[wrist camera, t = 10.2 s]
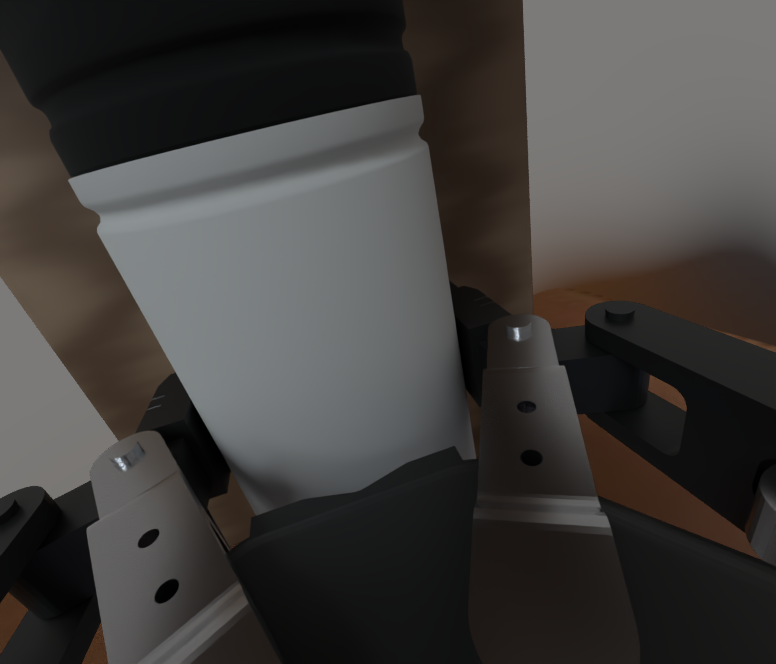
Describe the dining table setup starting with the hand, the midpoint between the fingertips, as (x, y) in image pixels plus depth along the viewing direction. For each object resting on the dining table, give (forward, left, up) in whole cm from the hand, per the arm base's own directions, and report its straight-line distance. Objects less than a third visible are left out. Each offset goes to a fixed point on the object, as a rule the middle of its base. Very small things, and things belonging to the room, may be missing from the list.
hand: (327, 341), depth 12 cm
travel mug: (-1, -2, -11) cm, 11 cm away
